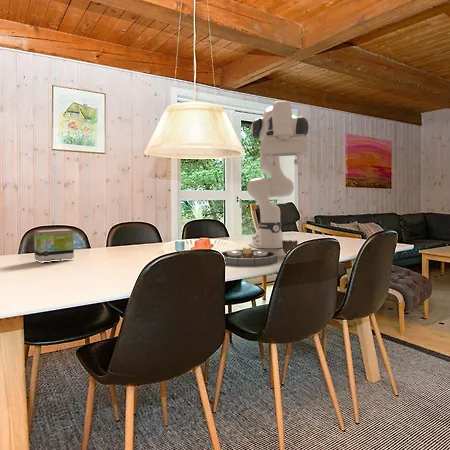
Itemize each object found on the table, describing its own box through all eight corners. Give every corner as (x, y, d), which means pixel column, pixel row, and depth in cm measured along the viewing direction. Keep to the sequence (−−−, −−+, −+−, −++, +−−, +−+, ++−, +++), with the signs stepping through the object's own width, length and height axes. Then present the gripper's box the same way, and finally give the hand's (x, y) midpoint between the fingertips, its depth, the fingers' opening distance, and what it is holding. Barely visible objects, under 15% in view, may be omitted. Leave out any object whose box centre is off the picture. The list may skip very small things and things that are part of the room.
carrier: (208, 258, 187) (208, 246, 187) (258, 254, 199) (258, 242, 198) (233, 268, 163) (233, 254, 163) (288, 262, 174) (288, 249, 174)
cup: (297, 258, 184) (297, 241, 183) (281, 258, 185) (281, 241, 185) (297, 256, 191) (297, 239, 191) (282, 255, 193) (282, 239, 192)
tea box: (41, 264, 178) (39, 231, 176) (34, 261, 185) (33, 230, 184) (74, 260, 188) (73, 229, 186) (67, 257, 195) (65, 228, 194)
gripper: (306, 137, 174) (308, 166, 170) (259, 139, 175) (261, 168, 172) (308, 130, 168) (310, 160, 164) (260, 132, 169) (261, 162, 166)
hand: (285, 164), depth 168 cm, fingers open, 8 cm apart
